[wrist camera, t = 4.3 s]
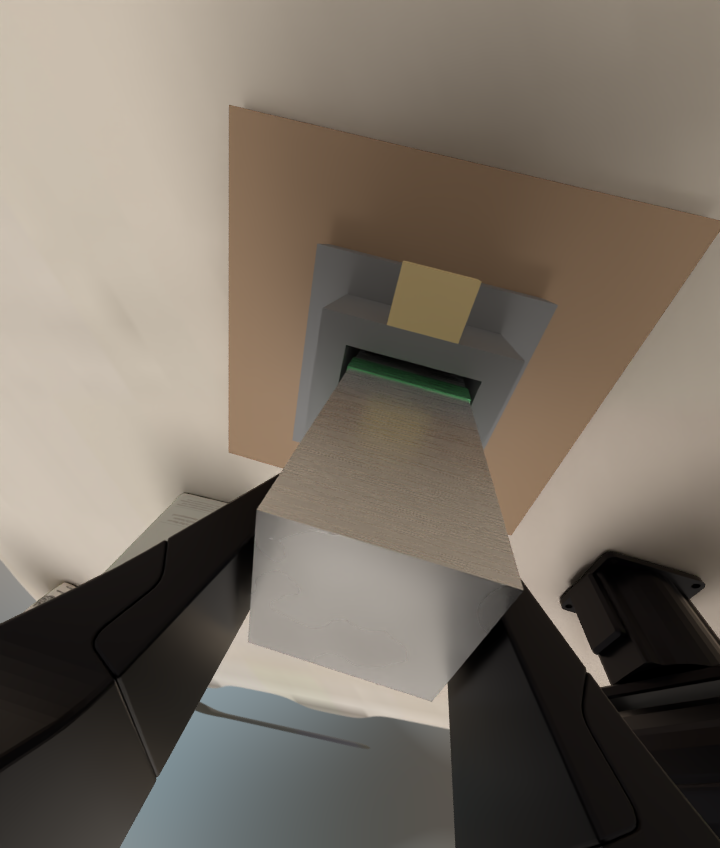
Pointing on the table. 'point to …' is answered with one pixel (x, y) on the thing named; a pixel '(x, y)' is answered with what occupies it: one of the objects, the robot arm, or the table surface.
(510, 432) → the tan base plate
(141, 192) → the table surface
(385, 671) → the block
